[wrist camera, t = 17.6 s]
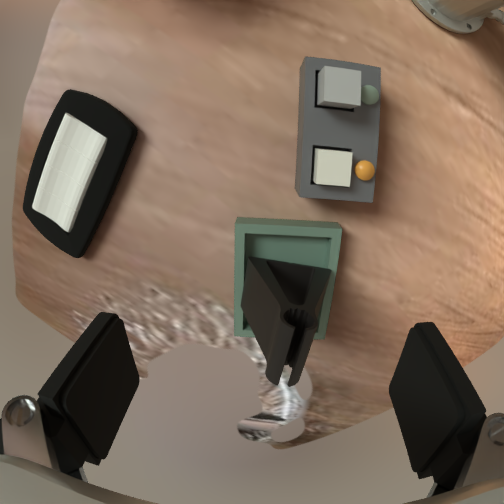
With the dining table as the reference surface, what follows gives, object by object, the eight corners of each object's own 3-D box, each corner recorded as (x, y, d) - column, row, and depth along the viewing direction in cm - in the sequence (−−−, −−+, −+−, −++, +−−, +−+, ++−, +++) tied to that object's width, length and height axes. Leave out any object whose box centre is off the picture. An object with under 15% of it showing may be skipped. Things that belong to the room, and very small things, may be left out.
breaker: (350, 78, 23) (361, 71, 20) (349, 109, 24) (360, 105, 21) (317, 74, 23) (324, 65, 20) (316, 105, 24) (323, 100, 21)
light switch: (60, 79, 26) (139, 125, 27) (74, 82, 29) (151, 126, 30) (13, 214, 33) (75, 271, 34) (26, 209, 36) (88, 263, 37)
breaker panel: (364, 76, 27) (382, 66, 22) (358, 192, 31) (374, 204, 26) (299, 68, 27) (306, 54, 22) (294, 188, 32) (300, 198, 27)
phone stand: (240, 303, 34) (228, 378, 23) (248, 255, 32) (238, 320, 21) (317, 315, 34) (334, 390, 23) (331, 269, 32) (358, 336, 21)
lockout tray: (337, 222, 33) (342, 228, 31) (321, 328, 38) (324, 339, 36) (237, 217, 33) (235, 223, 31) (236, 324, 38) (234, 336, 36)
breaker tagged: (342, 150, 27) (352, 152, 24) (340, 180, 28) (349, 186, 25) (312, 147, 27) (318, 149, 24) (310, 178, 29) (316, 183, 25)
